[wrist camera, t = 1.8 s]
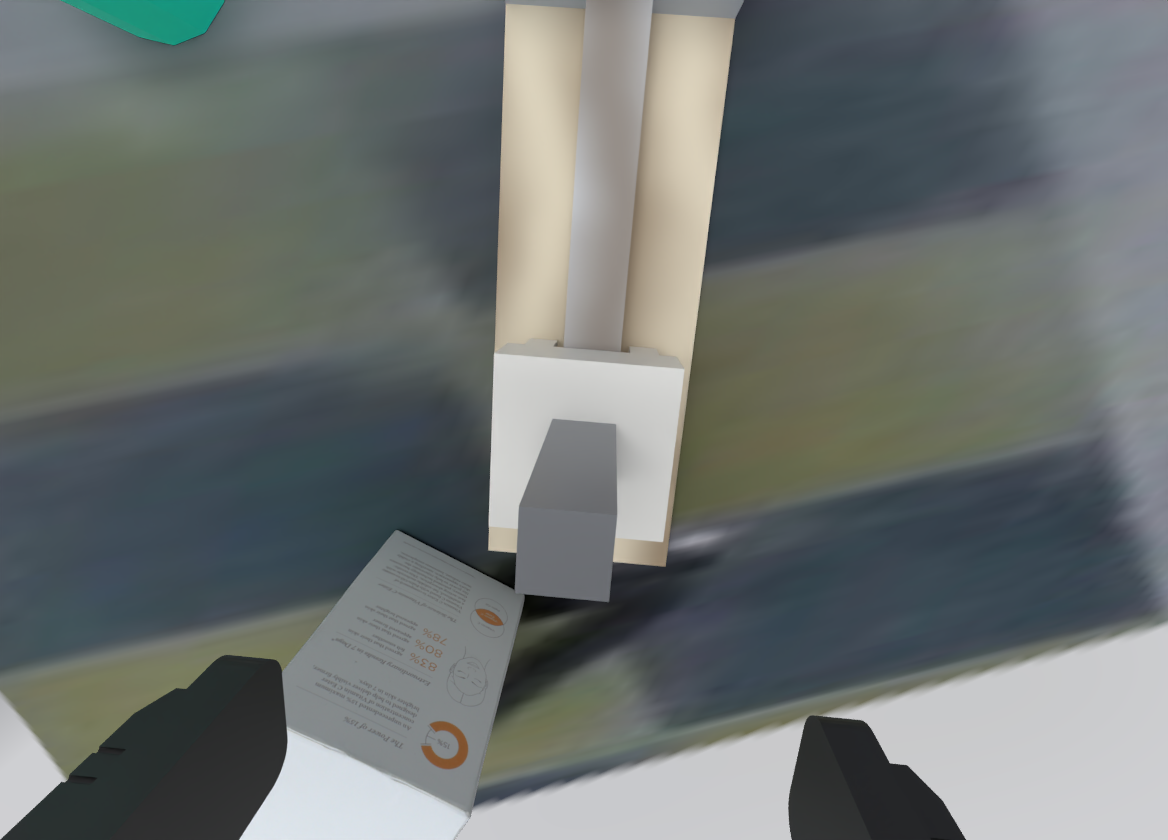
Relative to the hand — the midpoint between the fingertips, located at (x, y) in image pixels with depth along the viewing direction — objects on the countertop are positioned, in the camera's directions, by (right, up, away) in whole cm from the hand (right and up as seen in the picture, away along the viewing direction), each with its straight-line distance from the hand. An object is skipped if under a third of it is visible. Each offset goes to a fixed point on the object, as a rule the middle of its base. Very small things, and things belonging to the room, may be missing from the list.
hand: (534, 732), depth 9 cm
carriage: (+1, +5, +18) cm, 18 cm away
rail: (+1, +10, +18) cm, 21 cm away
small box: (-7, -6, +23) cm, 25 cm away
